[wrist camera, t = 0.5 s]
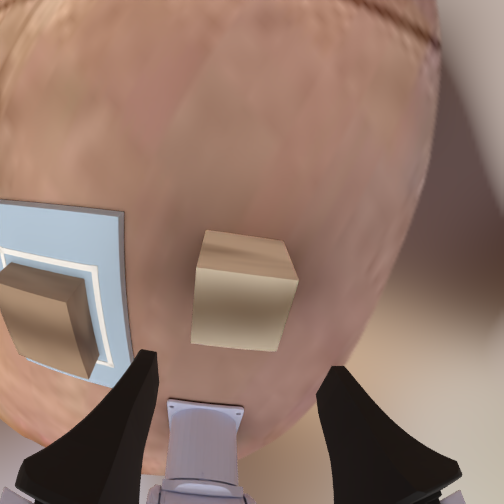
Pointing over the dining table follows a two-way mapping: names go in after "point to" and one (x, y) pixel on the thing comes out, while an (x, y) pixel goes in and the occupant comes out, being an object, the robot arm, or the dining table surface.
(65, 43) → the dining table surface
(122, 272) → the blueprint board
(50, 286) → the walnut base block
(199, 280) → the maple cube
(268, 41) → the dining table surface
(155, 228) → the dining table surface
